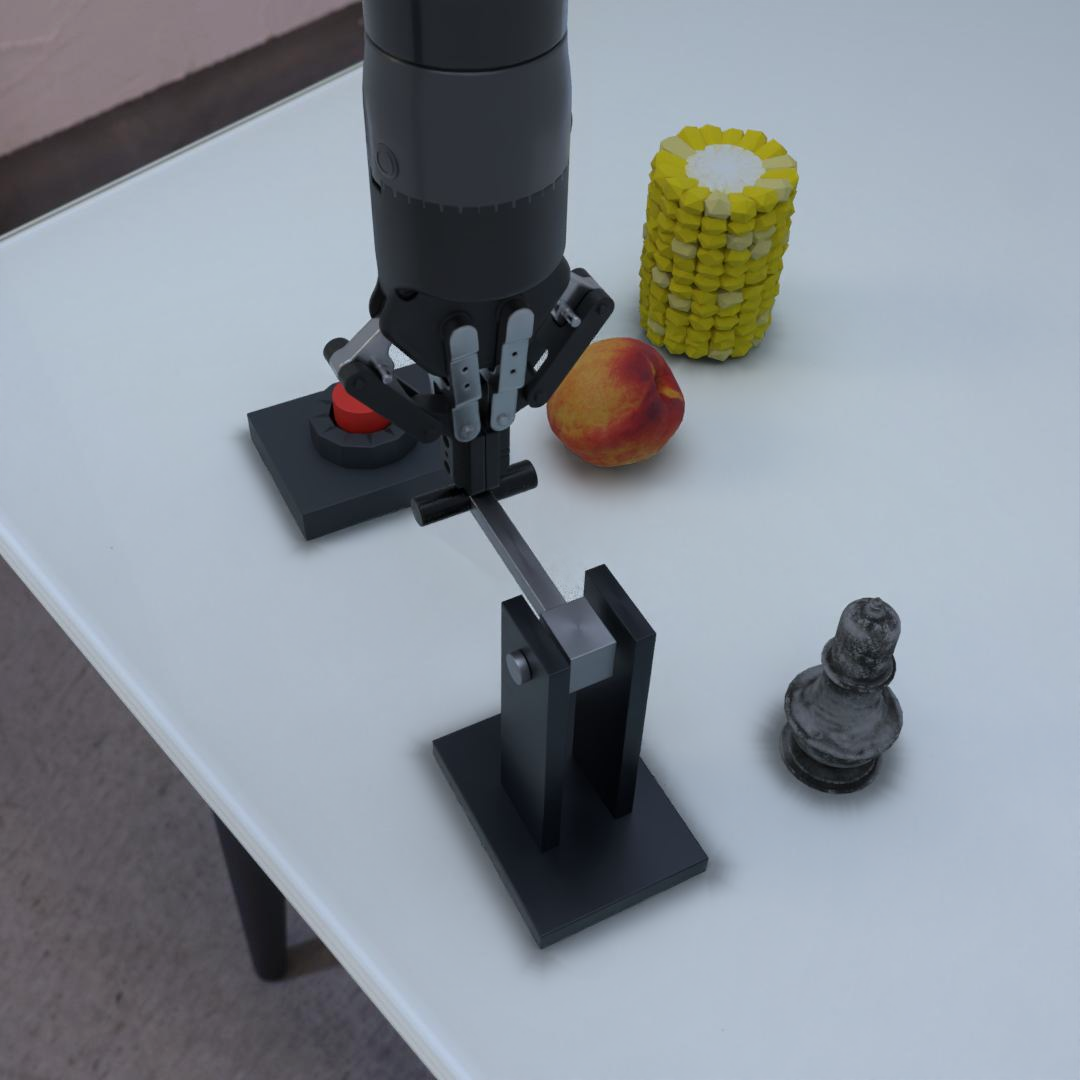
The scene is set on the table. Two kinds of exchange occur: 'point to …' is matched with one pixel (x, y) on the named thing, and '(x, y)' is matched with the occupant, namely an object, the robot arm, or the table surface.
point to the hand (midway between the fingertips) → (475, 480)
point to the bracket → (570, 776)
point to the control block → (343, 461)
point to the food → (714, 240)
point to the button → (355, 414)
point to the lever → (529, 572)
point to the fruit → (617, 403)
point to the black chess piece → (845, 703)
